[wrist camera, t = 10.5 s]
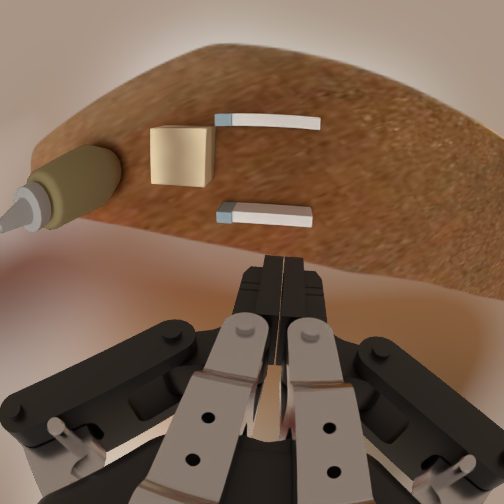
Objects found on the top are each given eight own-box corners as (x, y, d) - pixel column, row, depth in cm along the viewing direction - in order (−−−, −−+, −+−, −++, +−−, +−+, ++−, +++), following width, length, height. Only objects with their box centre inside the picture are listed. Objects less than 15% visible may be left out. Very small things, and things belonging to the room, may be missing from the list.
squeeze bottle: (128, 137, 30) (13, 179, 14) (132, 199, 34) (37, 274, 18) (79, 142, 31) (-28, 184, 15) (85, 198, 34) (-7, 262, 19)
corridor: (317, 117, 27) (320, 118, 24) (309, 216, 32) (311, 228, 29) (222, 113, 28) (214, 114, 25) (223, 211, 33) (216, 222, 30)
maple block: (216, 126, 29) (206, 128, 25) (214, 177, 32) (204, 187, 28) (165, 125, 29) (150, 128, 26) (165, 174, 32) (151, 183, 29)
